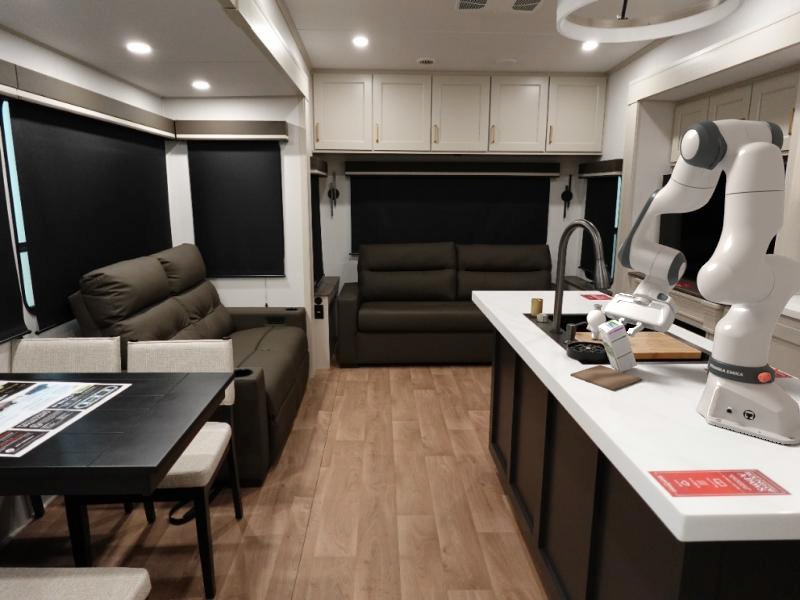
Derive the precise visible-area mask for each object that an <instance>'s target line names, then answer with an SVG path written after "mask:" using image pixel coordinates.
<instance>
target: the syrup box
mask: <svg viewBox="0 0 800 600" xmlns="http://www.w3.org/2000/svg"><path fill="white" fill-rule="evenodd" d="M598 329H599V335H600V337H601V340H602V344H603V345H604V348H605V352H606V355H607V358H608V360H609V363H610V366H611V367H612V368H613V369H615V370H618V371H621V372H626V371H629V370H630V369H632V368H635V367H636V366H638V364H637V362H636V358H635V355H634V352H633V348H632V346H631V342H630V340H629V336H628V334H627V331H626V328H625V325H624V324H622V323H620V322H619V320H616V319H611V320H608V321H607V320H606V321H605V323H603V324H601V325H600V326H598Z"/></svg>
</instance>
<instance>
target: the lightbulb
mask: <svg viewBox="0 0 800 600" xmlns="http://www.w3.org/2000/svg"><path fill="white" fill-rule="evenodd" d="M586 321H587V323H588V324H589V325H590V328H591V331H590V332H591V333H590V335H591V336H590V338H591V339H592V340H594V339H596V340H598V339H599V338H600V337H599V335H600V332H599V329H598V326H600V325H601V324H603V323H605V322H607V315H606V314H605V312H604V311H602V310H601V311H600V310H594V309H593V310H591V311H590V312H589V313H587V316H586Z"/></svg>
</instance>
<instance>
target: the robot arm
mask: <svg viewBox="0 0 800 600" xmlns="http://www.w3.org/2000/svg"><path fill="white" fill-rule="evenodd" d="M784 139H785V138H784V133H783V130H782V128H781V126H779V125H778V124H777V123H775V122H772V121H767V120H763V119H760V120H746V119H737V118H730V119H729V118H728V119H719V120H713V121H712V120H704V121H699V122H696V123H692V124H691V125H689V126H688V128H687V129H686V130H685V131H684V133H683V134H682V137H681V140H680V144H679V154H680V155H679V157H678V158H677V161H676V163H675V165H674V167H673V170H672V173H671V176H670V178H669V180H668V181H667V184H665V185H664V186H663V187H662V188H657V189H656V190H655V191H653V193H652V194H650V196H649V198H648V199H647V201H646V202H645V203H644V206H643V207H642V209H641V211H640V212H639V215H638V216H637V218H636V220H635V222H634V224H633V226H632V228H631V230H630V231H629V233H628V234H627V237H626V238H625V240H624V241H623V242H622V243H621V245H620V247H619V249H618V252H617V258H618V262H619V263H620V265H621V266H622V267H623V268H626V269H629V270H633V271H637V272H640V273H642V274H644V275H645V276H644V277H645V278H644V279H643V280H642V281H640V282H639V284H638V285H637V287H636V288H635V290H634V291H633V292H632V294H630V293H625V292H621V293H618V294H617V293H616V294H615V295H614V296H613V297H612V299H611V300H610V301H609V302H608V303H607V304H606V306H604V309H603V310H604V311H603V313H604V314H605V316H606V318H609V319H611V320H613V319H615V320H616V321H618V322H620V323H622V324H624V326H626V325H627V324H631V325H635V326H634V327H632V328H629V329H628V331H626V333H627V336H628V337H632V338H634V337H635V335H636V334H637V333H640V332H641V331H643V330H644V329H645V328H646V329H650V330H653V331H657V332H661V333H666V332H668V331H669V330H670V328H671V327H672V325H673V323H674V322H675V319H676V316H675V315H676V314H677V313H678V311H679V308H678V306H677V304H676V302H675V300H674V299H673V297H672V296H670V295H669V294H670V292H671V291H672V290H673V289H674V288H675V286H676V285H677V284H678V283H680V282H681V279H682V278H683V276H684V274H685V273H686V270H687V267H688V262H687V259H686V256H685V255H684V253H683V252H682V251H680V250H678V249H676V248H673V247H670V246H667V245H663V244H659V243H657V242H654V241H652V240H649V239H648V238H647V233H648V232H649V231H650V228H651V226H652V225H653V223H654V221H655V219H656V218H657V216H659V215H663V214H664V215H665V214H682V213H683V214H684V213H690V212H694V211H696V210H699V209H701V208H702V207H704V206H705V205H706V204H708V203H709V201H710V199H711V198H712V196H713V193H714V192H715V189H716V188H717V185H718V182H719V179H720V177H721V174H722V172H723V171H724V173H725V175H726V176H725V177H726V182H725V198H724V213H723V214H724V215H723V224H722V225H723V226H722V231H721V234H720V238H719V241H718V243H717V246H716V248H715V250H714V252H713V254H712V255H711V257H710V258H709V260H708V261H707V262H705V264H704V265H702V266H701V268H700V269H699V271H698V272H697V276H696V285H697V289H698V291H699V293H700V295H701V296H702V297H703V298H704V299H705V300H706V301H708V302H712V303H716V304H720V305H721V304H722V305H728V306H731V307H730V308H729V310H728V311H727V313H726V314H725V315H724V316H723V317H722V318H721V319H719V321H717V323H716V325H715V328H714V335H713V342H712V343H713V344H712V349H711V354H709V358H708V361H707V369H706V375H707V378H706V382H705V386H704V390H703V392H702V395H701V397H700V400H699V402H698V403H697V406H696V410H697V412H698V413H699V414H700V415H701V416H702V417H704V418H705V421H706V422H707V423H708V424H709V425H712V426H715V425H716V427H720V428H722V427H723V428H722V429H726V428H727V429H726V430H729V429H731V430H730V431H733V430H734V432H737V433H740V432H741V434H744V433H745V435H747V434H748V436H751V435H752V437H754V436H756V437H755V438H758V437H759V439H761V438H762V440H765V439H766V441H768V440H769V441H768V442H772V441H773V443H776V442H777V443H776V444H779V443H781V444H780V445H784V444H791V445H797V444H800V405H799V403H798V402H797V401H796V400H794V398H793V397H792V396H790V395H789V394H788V392H786V391H785V390H784V389H783V388H782V387H781V386H779V385H778V383H776V382H775V379H776V375H777V374H778V373H779V372H778V371H779V368H775V369H773V368H772V367H771V366H770V364H769V363H768V359H769V353H770V348H771V342H772V339H773V334H774V330H775V328H776V325H777V323H778V321H779V319H780V316H781V315H782V314H783V312H784V310H785V308H786V306H787V304H788V303H789V301H790V300H791V299H792V298H793V296H794V295H796V294H797V293H798V292H799V291H800V262H798V260H796V259H794V258H792V257H788V256H786V255H780V254H775V253H773V254H772V253H768V254H767V250H768V249H769V245H770V243H771V241H772V240H773V238H774V237H775V236H776V235H777V234H778V233H779V232H780V231H781V229H782V228H783V225H784V218H785V217H784V216H785V215H784V214H785V213H784V212H785V194H786V192H785V191H786V172H785V164H784V158H783V153H782V149H783V145H784Z"/></svg>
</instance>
